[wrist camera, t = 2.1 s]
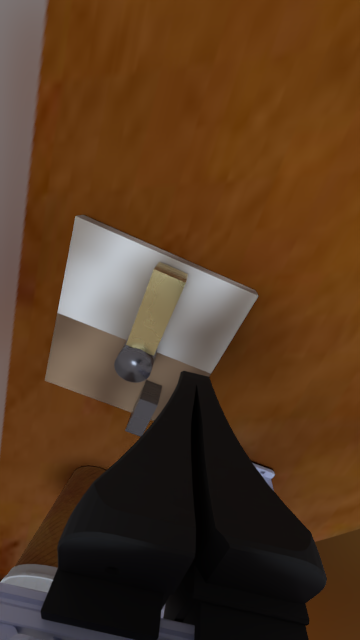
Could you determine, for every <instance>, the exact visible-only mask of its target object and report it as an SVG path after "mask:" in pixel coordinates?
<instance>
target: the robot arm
mask: <svg viewBox="0 0 360 640" xmlns="http://www.w3.org/2000/svg"><path fill="white" fill-rule="evenodd" d="M274 476H275V474H274V471H273V470H271V469H268V468H265V467H263V466H260V465H257V464H254V463H252V462H251V460H250V459H249V457H248V456H247V454H246V453H245V451H244V450H243V448H242V446H241V445H240V443H239V442H238V440H237V438H236V436H235V435H234V433H233V431H232V429H231V427H230V425H229V423H228V421H227V419H226V417H225V415H224V413H223V411H222V409H221V407H220V404H219V402H218V400H217V397H216V395H215V392H214V389H213V387H212V384H211V381H210V378H209V377H208V376H204V375H200V374H196V373H192V372H187V371H182V372H181V373H180V377H179V380H178V384H177V386H176V388H175V390H174V392H173V394H172V395H171V397H170V399H169V401H168V402H167V404H166V405H165V407H164V408H163V410H162V411H161V413H160V414H159V415H158V417H157V418H156V420H155V421H154V422H153V423H152V425H151V426H150V427H149V428H148V430H147V431H146V432H145V433H144V434H143V435H142V436H141V438H140V439H139V440H138V441H137V442H136V443H135V444H134V445H133V446H132V447H131V448H130V449H129V450H128V451H127V452H126V453H125V454H124V455H123V456H122V457H121V458H120V459H119V460H118V461H117V462H116V463H115V464H113V465H112V466H111V467H110V468H109V469H108V470H106V471H105V472H104V473H103V474H102V475H101V476H99V477H98V478H97V479H96V480H95V481H94V482H93V483H92V484H91V486H90V487H89V488H88V490H87V491H86V492H85V494H84V495H83V497H82V498H81V499H80V501H79V502H78V504H77V505H76V507H75V509H74V510H73V512H72V514H71V515H70V517H69V519H68V521H67V523H66V526H65V528H64V530H63V533H62V535H61V537H60V540H59V543H58V546H57V554H58V569H57V571H56V573H55V576H54V578H53V581H52V583H51V586H50V588H49V591H48V593H47V592H43V591H38V590H34V589H29V588H25V587H20V586H16V585H11V584H7V583H2V582H0V640H308V636H307V632H306V627H305V625H308V624H309V617H308V613H307V609H306V605H305V603H306V602H308V601H309V600H310V599H312V598H313V597H314V596H316V595H317V594H318V593H319V592H320V591H321V590H322V589H323V588H324V587H325V585H326V580H327V578H326V574H325V571H324V568H323V565H322V562H321V558H320V556H319V553H318V550H317V547H316V545H315V542H314V540H313V537H312V534H311V532H310V531H309V530H308V529H307V528H306V527H305V526H304V525H303V524H302V523H301V521H300V520H299V519H298V518H297V517H296V516H295V515H294V514H293V513H292V512H291V511H290V510H289V508H288V507H287V506H286V505H285V504H284V503H283V502H282V501H281V499H280V498H279V497H278V496H277V494H276V493H275V492H274V490H273V485H272V481H271V479H272V478H273V477H274Z"/></svg>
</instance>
